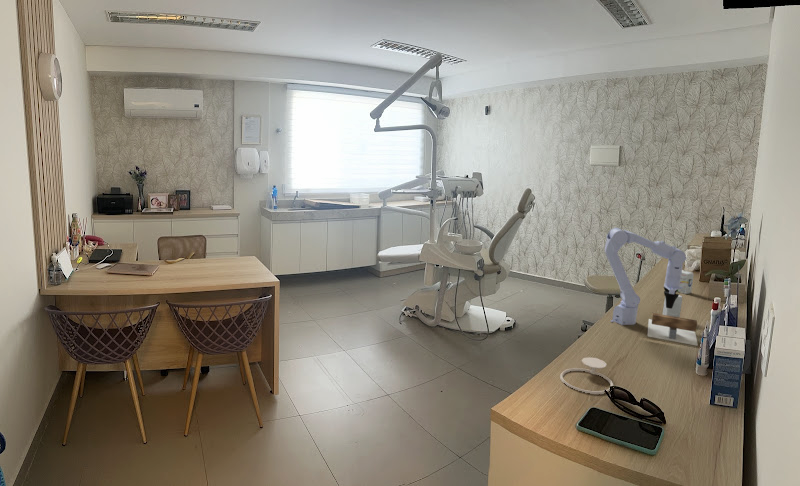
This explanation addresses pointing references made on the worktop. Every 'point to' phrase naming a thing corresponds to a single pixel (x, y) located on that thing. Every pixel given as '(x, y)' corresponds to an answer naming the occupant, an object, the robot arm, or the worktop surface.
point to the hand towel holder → (594, 365)
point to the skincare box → (673, 308)
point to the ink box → (686, 282)
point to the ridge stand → (671, 334)
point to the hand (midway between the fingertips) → (668, 305)
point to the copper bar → (674, 322)
